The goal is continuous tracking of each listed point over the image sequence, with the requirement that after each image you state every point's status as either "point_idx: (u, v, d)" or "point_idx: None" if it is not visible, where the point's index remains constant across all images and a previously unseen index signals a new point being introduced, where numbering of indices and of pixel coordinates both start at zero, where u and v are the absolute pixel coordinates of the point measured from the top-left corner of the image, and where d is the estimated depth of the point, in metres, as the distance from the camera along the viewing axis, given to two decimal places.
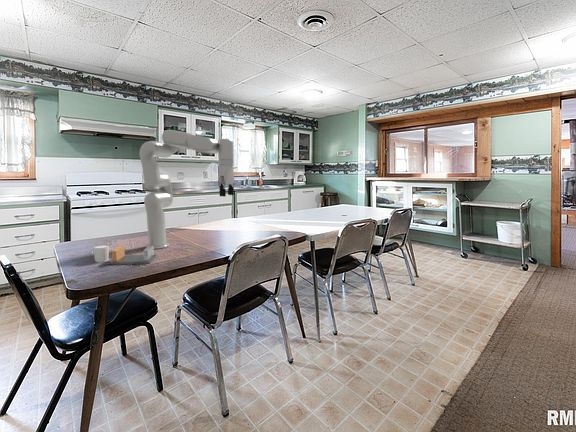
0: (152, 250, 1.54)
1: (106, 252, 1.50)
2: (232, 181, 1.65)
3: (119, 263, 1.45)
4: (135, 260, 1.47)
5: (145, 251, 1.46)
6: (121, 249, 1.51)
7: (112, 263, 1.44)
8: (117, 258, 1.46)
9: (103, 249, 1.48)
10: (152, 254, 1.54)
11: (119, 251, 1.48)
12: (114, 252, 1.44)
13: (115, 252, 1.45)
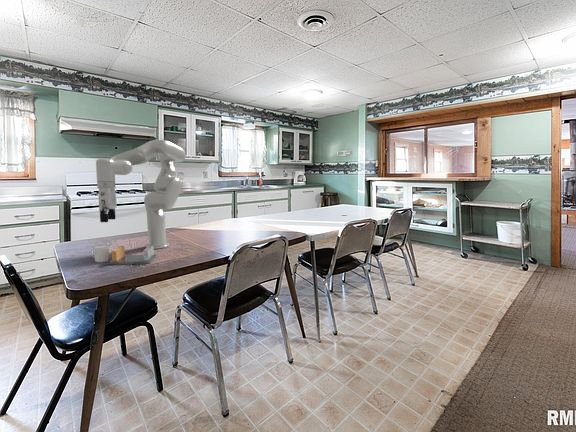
0: (152, 250, 1.54)
1: (106, 252, 1.50)
2: None
3: (119, 263, 1.45)
4: (135, 260, 1.47)
5: (145, 251, 1.46)
6: (121, 249, 1.51)
7: (112, 263, 1.44)
8: (117, 258, 1.46)
9: (103, 249, 1.48)
10: (152, 254, 1.54)
11: (119, 251, 1.48)
12: (114, 252, 1.44)
13: (115, 252, 1.45)
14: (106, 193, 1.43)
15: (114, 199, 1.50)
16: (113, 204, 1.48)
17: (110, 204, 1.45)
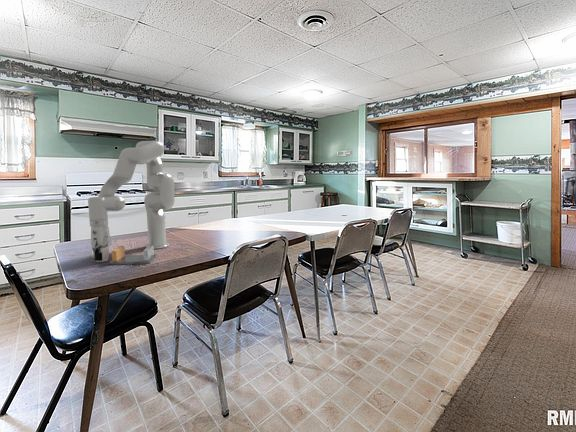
0: (152, 250, 1.54)
1: (106, 252, 1.50)
2: None
3: (119, 263, 1.45)
4: (135, 260, 1.47)
5: (145, 251, 1.46)
6: (121, 249, 1.51)
7: (112, 263, 1.44)
8: (117, 258, 1.46)
9: (103, 249, 1.48)
10: (152, 254, 1.54)
11: (119, 251, 1.48)
12: (114, 252, 1.44)
13: (115, 252, 1.45)
14: (98, 231, 1.44)
15: (107, 235, 1.51)
16: (106, 240, 1.49)
17: (102, 242, 1.46)
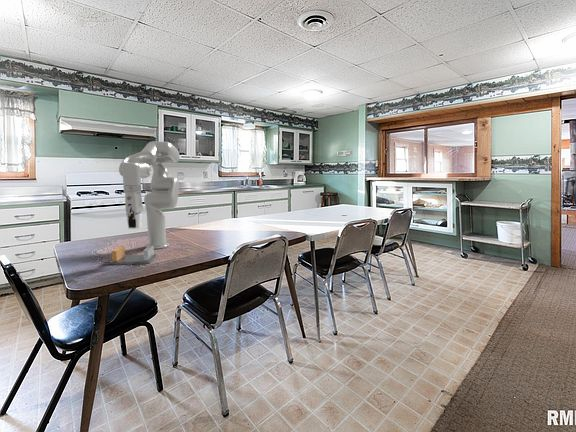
0: (152, 250, 1.54)
1: (139, 219, 1.48)
2: None
3: (119, 263, 1.45)
4: (135, 260, 1.47)
5: (145, 251, 1.46)
6: (121, 249, 1.51)
7: (112, 263, 1.44)
8: (117, 258, 1.46)
9: (137, 215, 1.46)
10: (152, 254, 1.54)
11: (119, 251, 1.48)
12: (114, 252, 1.44)
13: (115, 252, 1.45)
14: (132, 197, 1.42)
15: (140, 202, 1.49)
16: (139, 207, 1.47)
17: (136, 208, 1.44)
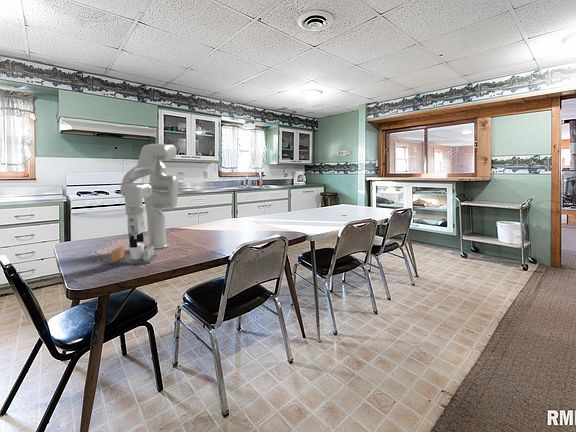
0: (152, 250, 1.54)
1: (142, 250, 1.50)
2: None
3: (119, 263, 1.45)
4: (135, 260, 1.47)
5: (145, 251, 1.46)
6: (121, 249, 1.51)
7: (112, 263, 1.44)
8: (117, 258, 1.46)
9: (139, 246, 1.48)
10: (152, 254, 1.54)
11: (119, 251, 1.48)
12: (114, 252, 1.44)
13: (115, 252, 1.45)
14: (135, 219, 1.44)
15: (142, 223, 1.51)
16: (141, 228, 1.49)
17: (139, 229, 1.46)
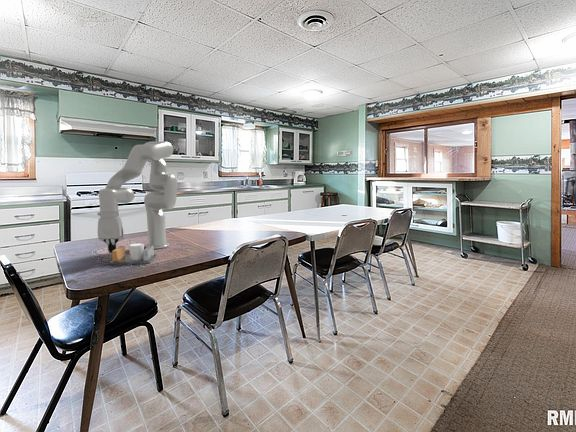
0: (152, 250, 1.54)
1: (142, 250, 1.49)
2: None
3: (119, 263, 1.45)
4: (135, 260, 1.47)
5: (145, 251, 1.46)
6: (121, 249, 1.51)
7: (112, 263, 1.44)
8: (117, 258, 1.46)
9: (139, 247, 1.48)
10: (152, 254, 1.54)
11: (119, 251, 1.48)
12: (114, 252, 1.44)
13: (115, 252, 1.45)
14: (98, 223, 1.45)
15: (111, 230, 1.45)
16: (107, 234, 1.45)
17: (99, 234, 1.45)
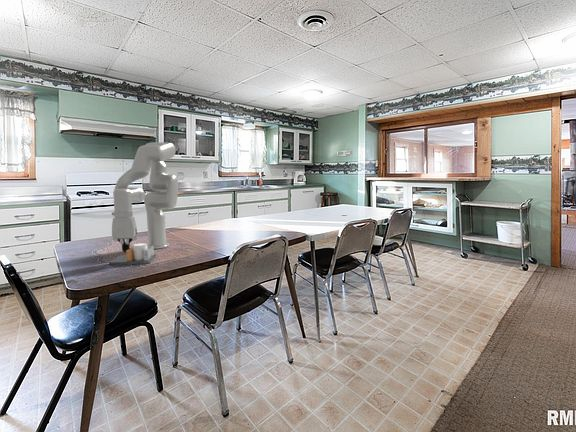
0: (152, 250, 1.54)
1: None
2: None
3: (119, 263, 1.45)
4: (135, 260, 1.47)
5: (145, 251, 1.46)
6: None
7: (112, 263, 1.44)
8: (131, 258, 1.47)
9: (143, 246, 1.48)
10: (152, 254, 1.54)
11: None
12: (128, 252, 1.45)
13: (129, 252, 1.45)
14: (112, 222, 1.46)
15: (125, 229, 1.46)
16: (121, 234, 1.46)
17: (114, 234, 1.45)
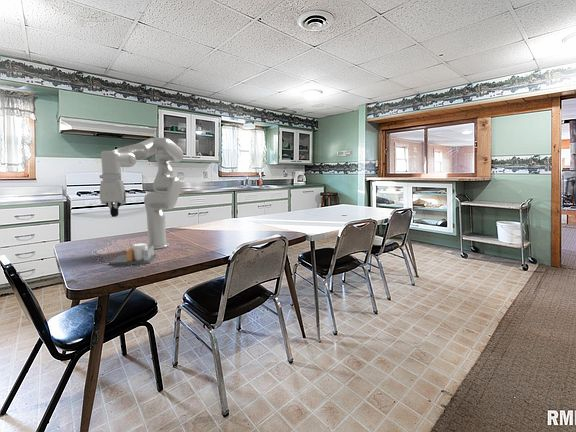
0: (152, 250, 1.54)
1: None
2: None
3: (119, 263, 1.45)
4: (135, 260, 1.47)
5: (145, 251, 1.46)
6: None
7: (112, 263, 1.44)
8: (131, 258, 1.47)
9: (143, 247, 1.48)
10: (152, 254, 1.54)
11: None
12: (129, 252, 1.45)
13: (130, 252, 1.45)
14: (100, 185, 1.43)
15: (114, 192, 1.43)
16: (109, 197, 1.43)
17: (102, 197, 1.42)
